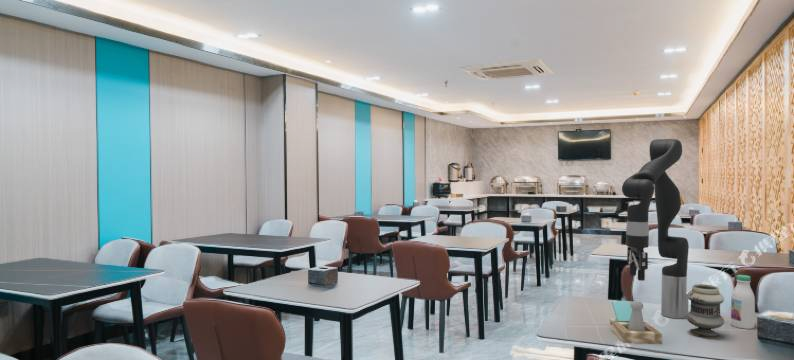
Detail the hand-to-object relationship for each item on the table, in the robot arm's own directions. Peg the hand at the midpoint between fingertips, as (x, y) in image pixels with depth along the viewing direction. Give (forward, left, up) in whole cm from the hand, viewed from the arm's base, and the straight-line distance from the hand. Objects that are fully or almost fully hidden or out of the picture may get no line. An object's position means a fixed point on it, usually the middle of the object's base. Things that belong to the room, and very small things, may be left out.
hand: (636, 277), depth 190 cm
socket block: (0, -4, -22) cm, 22 cm away
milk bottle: (-47, -17, -22) cm, 54 cm away
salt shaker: (0, 0, -22) cm, 22 cm away
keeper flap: (0, -11, -16) cm, 20 cm away
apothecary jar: (-27, -6, -22) cm, 35 cm away
